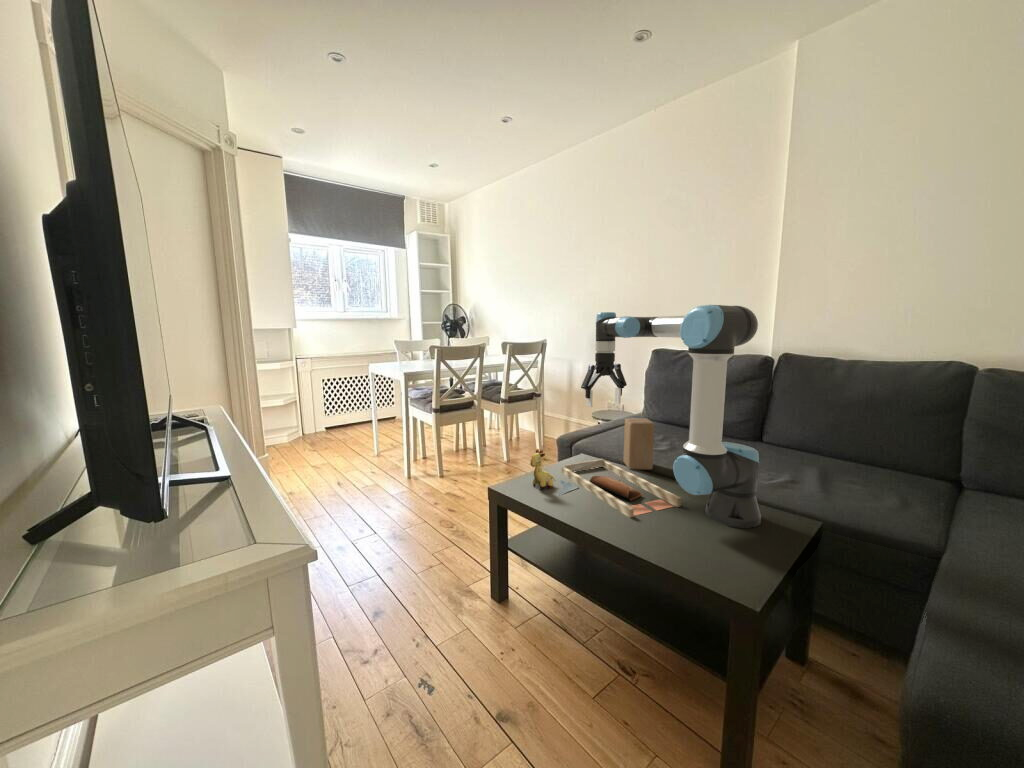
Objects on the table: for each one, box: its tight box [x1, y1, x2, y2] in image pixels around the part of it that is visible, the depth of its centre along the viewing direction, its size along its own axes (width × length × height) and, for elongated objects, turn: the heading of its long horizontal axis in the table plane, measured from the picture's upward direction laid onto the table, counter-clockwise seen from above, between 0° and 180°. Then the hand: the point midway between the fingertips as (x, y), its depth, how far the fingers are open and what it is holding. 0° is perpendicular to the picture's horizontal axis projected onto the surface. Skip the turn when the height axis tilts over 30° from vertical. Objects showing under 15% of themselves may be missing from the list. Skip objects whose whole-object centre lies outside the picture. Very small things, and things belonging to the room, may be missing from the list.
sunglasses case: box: [589, 475, 643, 501], centre depth 143 cm, size 18×7×7 cm
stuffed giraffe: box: [529, 448, 580, 497], centre depth 146 cm, size 16×18×16 cm
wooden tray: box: [561, 458, 682, 519], centre depth 146 cm, size 41×21×4 cm, turn 23°
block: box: [623, 417, 655, 471], centre depth 169 cm, size 10×10×20 cm
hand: (603, 405), depth 161 cm, fingers open, 13 cm apart
